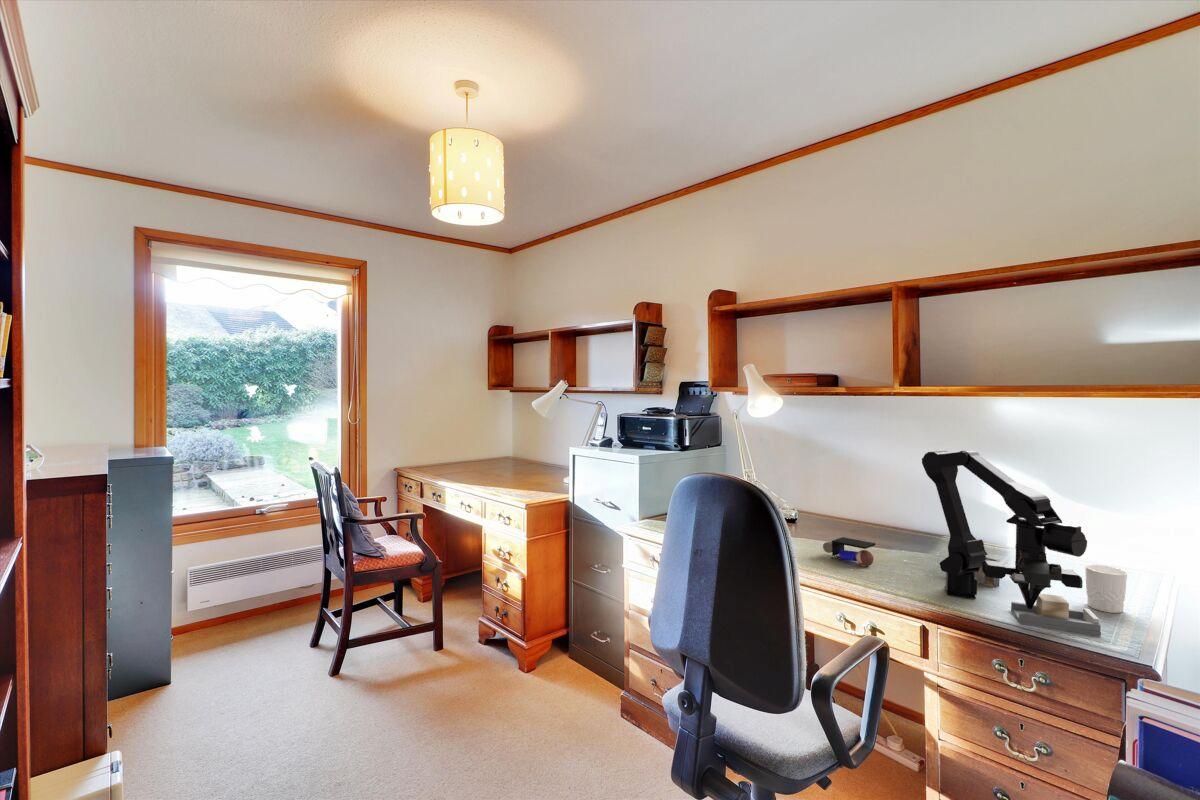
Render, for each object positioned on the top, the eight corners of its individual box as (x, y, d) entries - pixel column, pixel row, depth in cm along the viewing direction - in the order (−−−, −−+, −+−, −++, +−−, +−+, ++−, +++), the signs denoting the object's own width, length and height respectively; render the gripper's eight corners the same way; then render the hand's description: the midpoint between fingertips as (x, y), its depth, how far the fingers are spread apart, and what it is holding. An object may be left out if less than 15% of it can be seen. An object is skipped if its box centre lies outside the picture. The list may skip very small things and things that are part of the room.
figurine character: (822, 562, 184) (867, 569, 172) (820, 539, 184) (864, 544, 172) (834, 558, 188) (878, 565, 176) (832, 535, 188) (876, 540, 176)
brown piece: (952, 577, 166) (952, 544, 166) (958, 575, 168) (958, 543, 168) (993, 589, 156) (993, 555, 156) (999, 587, 158) (999, 553, 157)
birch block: (1042, 620, 133) (1042, 600, 132) (1036, 613, 137) (1036, 592, 137) (1068, 624, 130) (1068, 603, 130) (1061, 616, 135) (1062, 596, 135)
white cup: (1105, 601, 146) (1106, 564, 146) (1135, 614, 138) (1136, 574, 138) (1076, 602, 146) (1077, 564, 145) (1104, 614, 138) (1105, 574, 138)
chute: (1020, 623, 133) (1020, 610, 133) (1010, 610, 141) (1011, 597, 141) (1100, 635, 126) (1101, 621, 126) (1086, 620, 134) (1086, 606, 134)
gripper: (990, 548, 132) (989, 613, 132) (1091, 559, 124) (1090, 628, 124) (982, 537, 142) (981, 597, 142) (1075, 546, 134) (1073, 610, 134)
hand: (1029, 608), depth 135 cm, fingers closed
